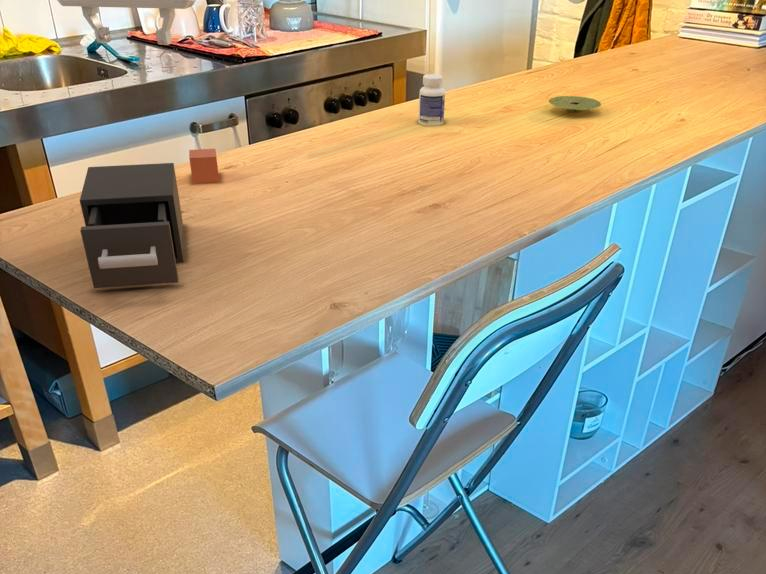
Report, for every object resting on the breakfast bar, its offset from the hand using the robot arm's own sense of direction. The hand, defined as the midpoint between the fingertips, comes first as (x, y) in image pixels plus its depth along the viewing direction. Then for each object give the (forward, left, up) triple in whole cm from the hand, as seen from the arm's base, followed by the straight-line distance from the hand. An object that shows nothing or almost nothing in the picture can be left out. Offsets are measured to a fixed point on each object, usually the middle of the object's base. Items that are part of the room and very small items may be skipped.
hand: (134, 43), depth 117 cm
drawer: (-3, -28, -22) cm, 36 cm away
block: (+7, +11, -23) cm, 27 cm away
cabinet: (-3, -17, -23) cm, 29 cm away
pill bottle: (+54, +39, -23) cm, 71 cm away
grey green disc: (+87, +43, -23) cm, 100 cm away
